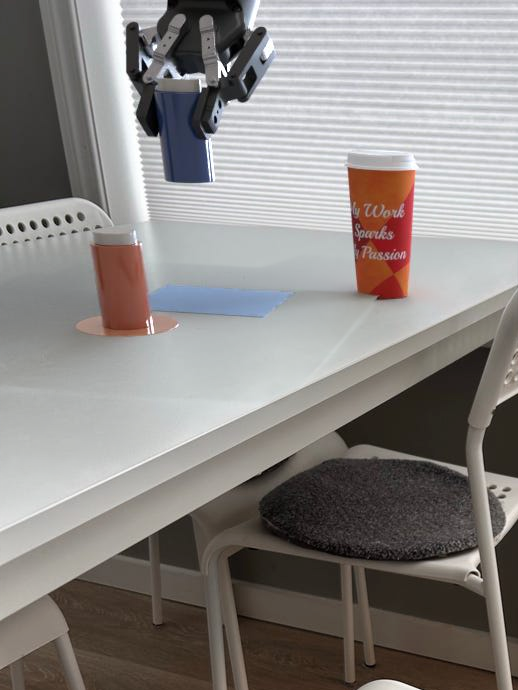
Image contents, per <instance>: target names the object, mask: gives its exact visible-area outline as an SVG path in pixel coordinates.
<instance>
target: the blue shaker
mask: <svg viewBox="0 0 518 690" xmlns="http://www.w3.org/2000/svg"><path fill="white" fill-rule="evenodd" d="M157 84H158V91H154V98H155V106H156V114H157V122H158V130H159V133H158V136H159V144H160V152H161V160H162V167H163V177H164V181H165V182H168V183H174V184H176V183H177V184H208V183H213V182H214V183H215V182H216V175H215V165H214V156H213V155H214V154H213V146H212V137H211V138H210V140H201V139H200V138H199V136H198V135H197V133H196V131H195V129H194V127H193V124H192V119H193V115H194V112H195V109H196V105H197V102H198V98H199V95H200V92H201V88H202V87H201V79H200V78H193V77H192V78H189V77H188V78H163V77H161V78H157Z"/></svg>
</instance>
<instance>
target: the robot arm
mask: <svg viewBox="0 0 518 690" xmlns="http://www.w3.org/2000/svg"><path fill="white" fill-rule="evenodd" d="M260 3H261V0H166V10H165V11H164V13H163V15H162V16H161V17H160V18H159V19H158V20H157V22H156V25H155V26H151V27H146V28H141V26H140V25H139V24H140V23H138V22H137V21H130V22H129V23H127V24H126V26H125V73H126V75H127V76H128V78H129V80H130V82H131V83H132V85H133V87H134V88H135V90H136V92H137V93H138V95H139V97H140V98H139V101H138V104H137V108H136V110H135V117H136V119H137V121H138V123H139V125H140V127H141V128H142V130H143V131H144V133H145V134H146V137H149V138H157V137H158V136H159V130H158V122H157V114H156V106H155V98H154V91H158V84H157V78H189V77H190V75H194V74H202V75H205V76H204V77H205V84H206V87H201V92H200V95H199V98H198V102H197V105H196V109H195V112H194V115H193V119H192V124H193V127H194V129H195V131H196V133H197V135H198V136H199V138H200V139H201V140H210V138H211V139H212V135H215V134H216V132H217V131H218V129H219V126H220V122H221V119H222V116H223V112H224V110H225V109H224V108H226V107H228V106H229V105H230V102H231V101H235V100H236V101H237V102H238V103H241V104H244V103H247V102H248V101H249V100H250V99H251V97H252V95H254V92H255V90H256V89H257V87H258V86H259V84H260V83H261V81H262V79H263V78H264V76H265V74H266V73H267V72H268V69H269V68H270V67H271V65H272V64H273V62H274V60H275V58H276V57H277V52H276V50H275V47H274V44H273V41H272V39H271V36H270V34H269V33H268V29H267V27H265V26H258V27H256V28H255V29H254V30H253V27H254V23H255V20H256V16H257V12H258V9H259V6H260ZM233 61H234V62H233ZM232 62H233V63H232ZM231 63H232V65H231ZM230 65H231V66H230Z"/></svg>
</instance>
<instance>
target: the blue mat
mask: <svg viewBox="0 0 518 690" xmlns="http://www.w3.org/2000/svg"><path fill="white" fill-rule="evenodd" d="M294 294H295V291H291V292H290V291H279V290H276V291H275V290H274V291H273V290H262V289H261V290H260V289H246V288H245V289H243V288H227V287H225V288H224V287H209V286H195V285H194V286H193V285H177V284H167V285H165V286H162V287H161V288H159V289H157V290H155V291H153V292H151V293H149V299H150V307H151V312H167V313H184V314H199V315H200V314H201V315H214V316H215V315H217V316H233V317H251V318H265V317H266V316H267V315H268V314H270V313H271V312H272V311H274V310H275V309H276V308H277V307H279V306H281V304H283V303H284V302H285V301H286V300H287V299H289V298H290V297H292V295H294Z"/></svg>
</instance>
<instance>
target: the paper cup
mask: <svg viewBox="0 0 518 690" xmlns="http://www.w3.org/2000/svg"><path fill="white" fill-rule="evenodd" d="M416 160H417V159H416V158H415V156H414V153H412V152H408V151H401V150H386V149H355V150H349V151H348V152H347V159H346V162H345V163H344V164H343V166H344V167H346V168H347V179H348V180H347V181H348V190H349V191H348V193H349V194H348V195H349V205H350V219H351V231H352V244H353V245H352V246H353V255H354V266H355V268H354V269H355V279H356V288H357V293H359V294H365V295H370V296H376V299H379V300H392V299H400V298H404V297H407V296H408V293H409V288H410V287H409V285H410V272H411V271H410V270H411V256H412V255H411V254H412V237H413V222H414V221H413V220H414V202H415V201H414V200H415V184H416V183H415V182H416V171H418V170H420V167H419V166H418V164H416Z"/></svg>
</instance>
